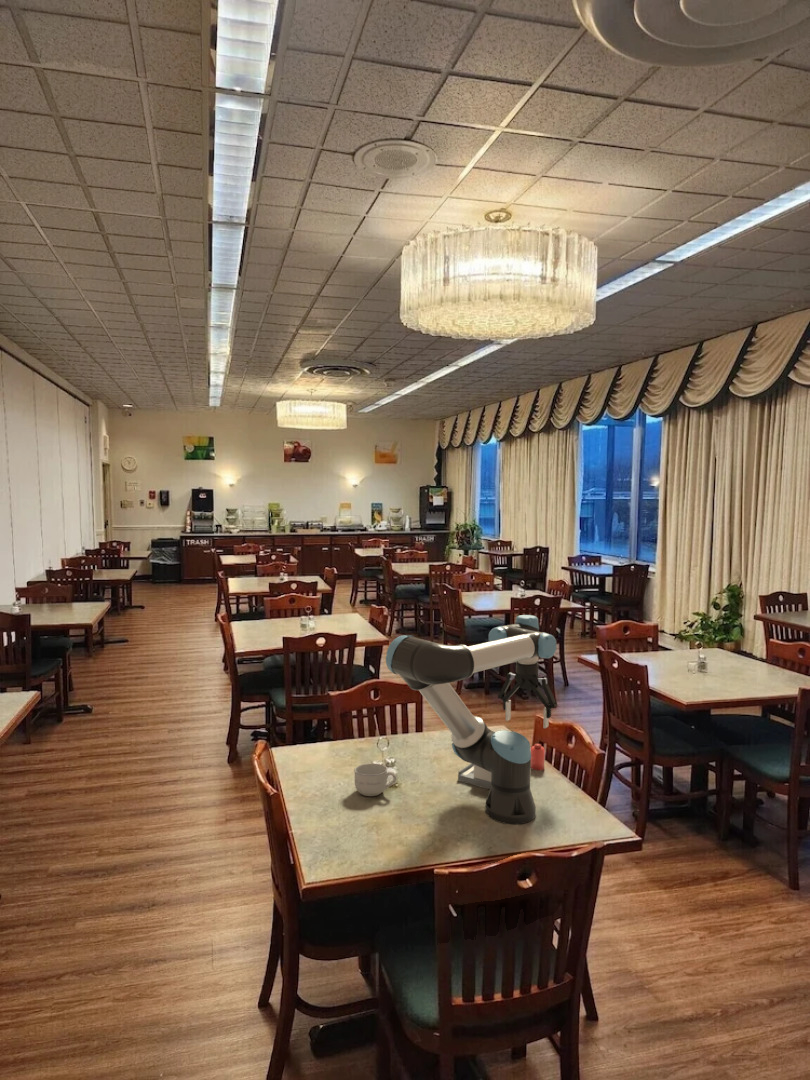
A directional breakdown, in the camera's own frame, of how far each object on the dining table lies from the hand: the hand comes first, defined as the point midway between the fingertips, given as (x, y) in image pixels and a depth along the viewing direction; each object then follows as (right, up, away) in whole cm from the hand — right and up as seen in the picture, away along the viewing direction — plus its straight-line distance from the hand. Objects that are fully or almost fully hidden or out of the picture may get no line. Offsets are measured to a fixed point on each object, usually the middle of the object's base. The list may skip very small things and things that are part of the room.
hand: (526, 723), depth 221 cm
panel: (-10, -19, +6) cm, 22 cm away
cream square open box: (-12, -17, -2) cm, 21 cm away
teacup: (-51, -20, -10) cm, 56 cm away
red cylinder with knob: (+6, -19, +10) cm, 22 cm away
